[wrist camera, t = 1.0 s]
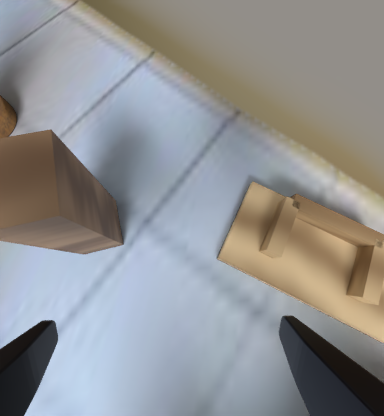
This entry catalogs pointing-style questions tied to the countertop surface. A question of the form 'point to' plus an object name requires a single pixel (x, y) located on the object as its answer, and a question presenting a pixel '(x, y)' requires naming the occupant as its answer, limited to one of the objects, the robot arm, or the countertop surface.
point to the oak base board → (310, 256)
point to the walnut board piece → (53, 197)
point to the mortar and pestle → (6, 118)
